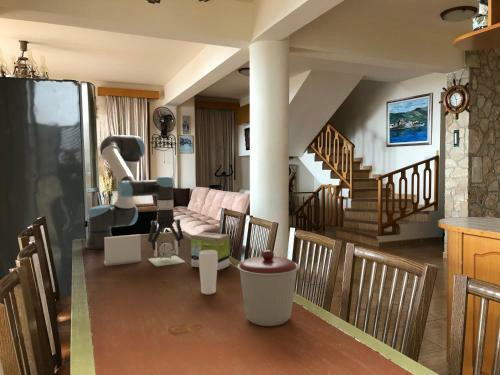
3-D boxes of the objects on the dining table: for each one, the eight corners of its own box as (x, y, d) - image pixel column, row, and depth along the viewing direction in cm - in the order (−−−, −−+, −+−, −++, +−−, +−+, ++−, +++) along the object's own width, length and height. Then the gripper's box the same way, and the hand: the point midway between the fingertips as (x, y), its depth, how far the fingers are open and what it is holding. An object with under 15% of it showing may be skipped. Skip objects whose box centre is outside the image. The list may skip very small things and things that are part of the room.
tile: (148, 260, 192) (148, 258, 192) (175, 256, 199) (175, 255, 199) (155, 266, 180) (155, 265, 180) (185, 262, 187) (185, 261, 187)
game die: (170, 265, 191) (182, 247, 193) (165, 263, 183) (177, 245, 185) (156, 255, 194) (168, 238, 196) (150, 252, 185) (162, 234, 188)
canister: (262, 304, 131) (262, 241, 129) (310, 318, 119) (310, 249, 118) (225, 321, 117) (224, 251, 115) (275, 338, 105) (274, 260, 104)
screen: (103, 263, 187) (103, 236, 186) (138, 259, 194) (137, 233, 193) (105, 266, 181) (105, 238, 180) (140, 261, 189) (140, 235, 188)
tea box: (190, 267, 179) (190, 234, 178) (203, 262, 188) (202, 231, 187) (218, 271, 172) (218, 237, 171) (230, 265, 181) (230, 234, 180)
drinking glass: (220, 290, 145) (220, 250, 144) (213, 296, 139) (212, 254, 138) (204, 288, 147) (203, 249, 147) (195, 294, 141) (195, 253, 140)
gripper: (144, 210, 180) (145, 259, 181) (190, 208, 190) (190, 254, 191) (140, 209, 186) (141, 256, 188) (185, 206, 197) (185, 251, 198)
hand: (166, 255), depth 190 cm, fingers closed on game die, 9 cm apart
